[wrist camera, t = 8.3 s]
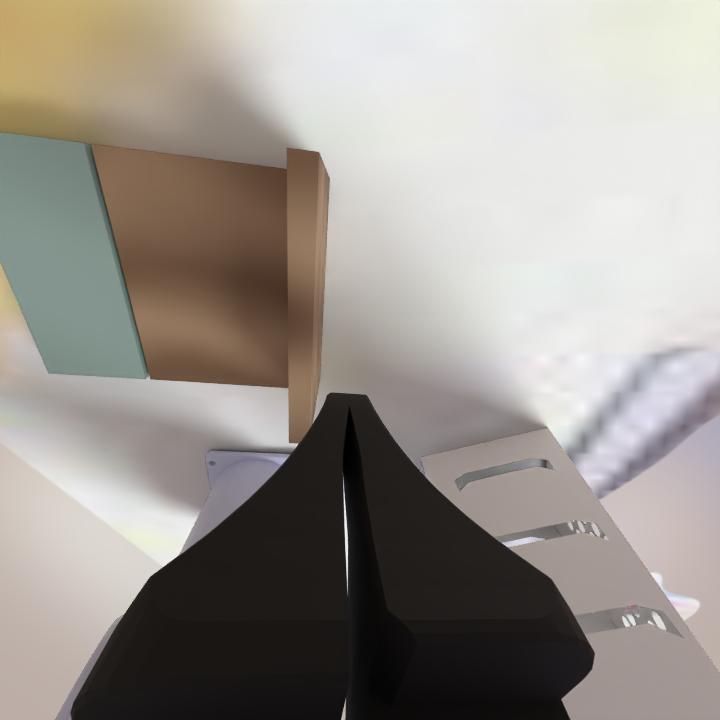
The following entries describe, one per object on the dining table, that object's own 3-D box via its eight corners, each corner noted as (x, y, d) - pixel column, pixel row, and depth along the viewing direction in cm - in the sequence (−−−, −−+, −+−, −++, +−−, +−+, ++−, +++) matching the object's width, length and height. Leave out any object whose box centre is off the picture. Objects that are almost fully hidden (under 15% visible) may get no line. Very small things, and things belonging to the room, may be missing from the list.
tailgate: (145, 378, 18) (48, 373, 17) (157, 369, 19) (66, 363, 18) (83, 142, 12) (-59, 124, 12) (105, 149, 14) (-24, 132, 13)
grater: (547, 427, 23) (1247, 1151, 5) (544, 509, 28) (908, 1040, 10) (420, 457, 24) (646, 1172, 6) (438, 531, 28) (594, 1059, 11)
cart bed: (320, 378, 20) (309, 443, 14) (164, 368, 19) (84, 433, 13) (329, 178, 15) (318, 152, 9) (115, 150, 14) (-51, 102, 8)
